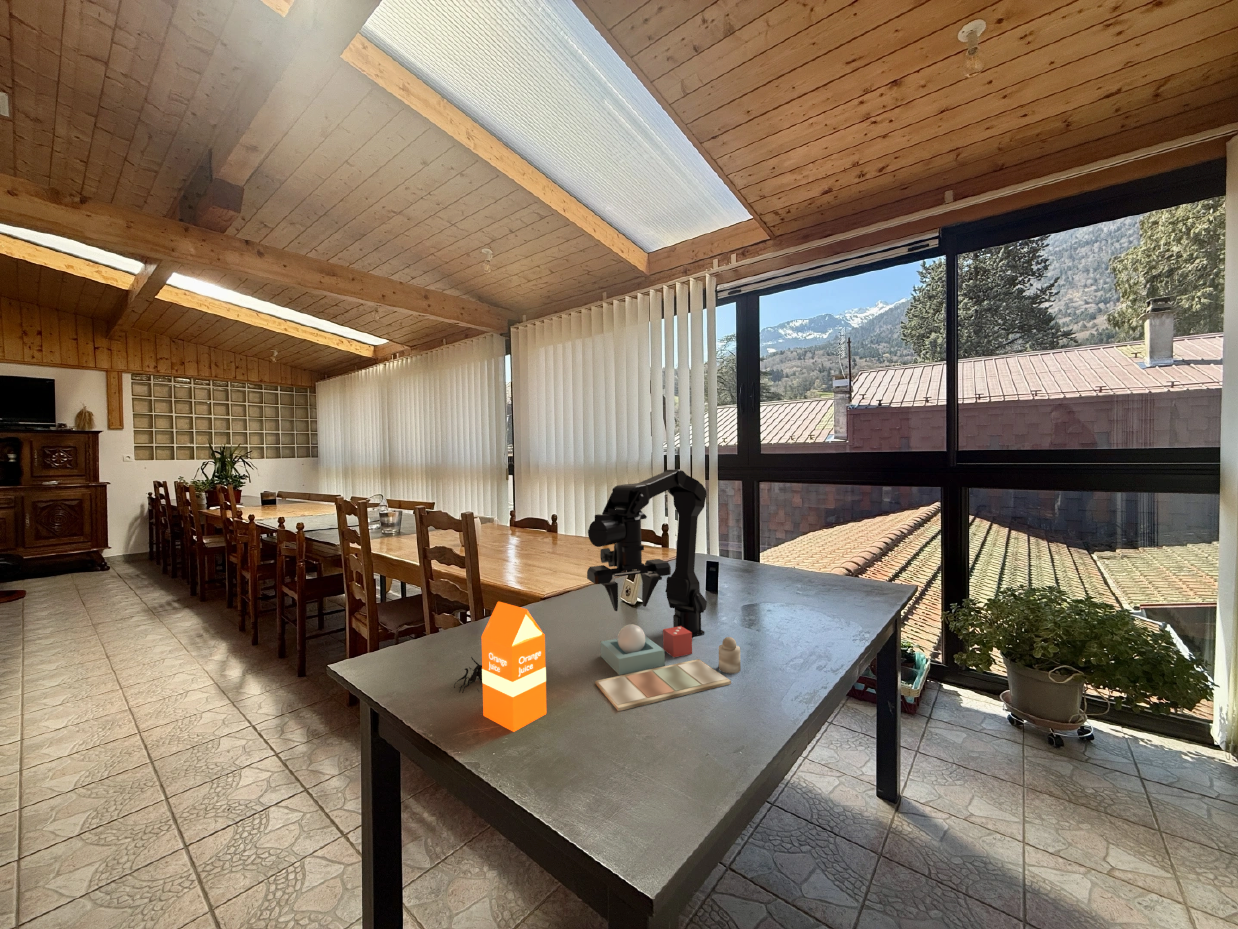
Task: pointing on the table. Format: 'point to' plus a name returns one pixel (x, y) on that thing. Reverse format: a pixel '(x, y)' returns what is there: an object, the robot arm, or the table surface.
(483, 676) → the orange juice
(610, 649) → the housing
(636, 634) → the white ball
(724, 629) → the table surface
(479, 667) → the creature
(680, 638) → the red die
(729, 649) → the pawn
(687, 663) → the game board
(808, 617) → the table surface
